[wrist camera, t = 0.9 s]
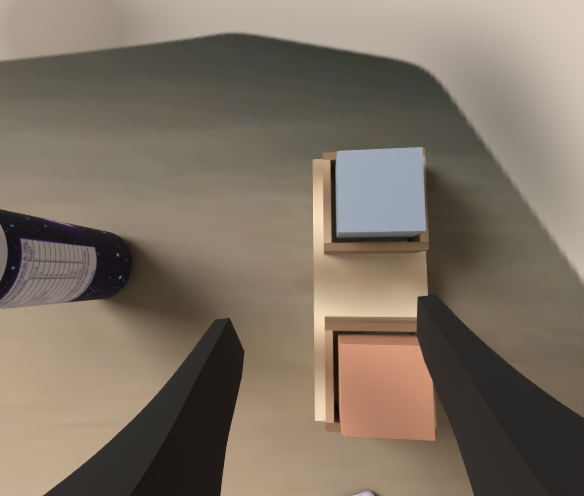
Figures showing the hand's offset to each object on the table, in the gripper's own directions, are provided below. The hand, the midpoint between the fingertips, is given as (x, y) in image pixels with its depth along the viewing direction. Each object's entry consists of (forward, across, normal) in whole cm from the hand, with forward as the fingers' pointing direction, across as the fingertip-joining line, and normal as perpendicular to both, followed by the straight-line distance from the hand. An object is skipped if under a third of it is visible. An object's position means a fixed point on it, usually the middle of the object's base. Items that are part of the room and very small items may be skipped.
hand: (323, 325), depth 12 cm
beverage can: (+12, +19, +3) cm, 23 cm away
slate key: (+11, -4, 0) cm, 11 cm away
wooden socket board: (+10, -3, +7) cm, 13 cm away
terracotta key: (+4, -2, +9) cm, 10 cm away
